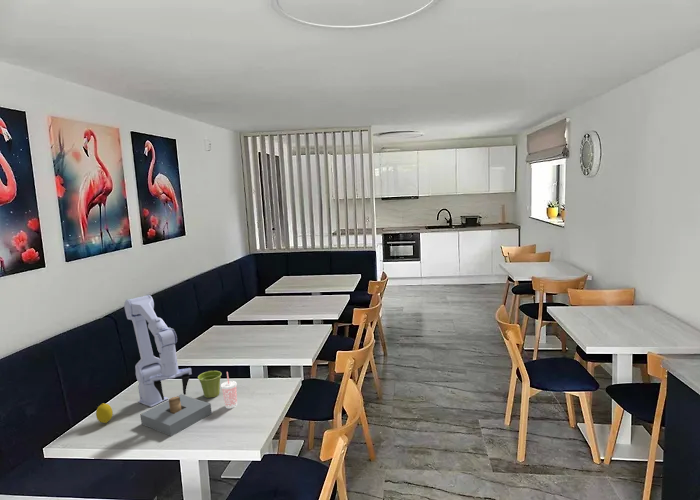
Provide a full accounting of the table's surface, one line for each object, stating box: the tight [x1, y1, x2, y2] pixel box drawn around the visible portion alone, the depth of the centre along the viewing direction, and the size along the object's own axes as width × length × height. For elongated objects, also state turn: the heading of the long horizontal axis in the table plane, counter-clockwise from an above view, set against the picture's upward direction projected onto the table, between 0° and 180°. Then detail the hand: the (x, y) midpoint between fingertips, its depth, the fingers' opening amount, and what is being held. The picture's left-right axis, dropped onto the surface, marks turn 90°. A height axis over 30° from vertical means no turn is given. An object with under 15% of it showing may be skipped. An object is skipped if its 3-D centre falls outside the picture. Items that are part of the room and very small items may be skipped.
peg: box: [168, 396, 182, 414], centre depth 183 cm, size 4×4×8 cm
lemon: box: [95, 402, 113, 424], centre depth 184 cm, size 6×6×8 cm
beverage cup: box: [220, 371, 238, 409], centre depth 190 cm, size 6×6×14 cm
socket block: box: [140, 394, 213, 437], centre depth 183 cm, size 18×18×4 cm
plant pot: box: [197, 370, 222, 399], centre depth 201 cm, size 9×9×9 cm
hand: (173, 396), depth 182 cm, fingers open, 7 cm apart
